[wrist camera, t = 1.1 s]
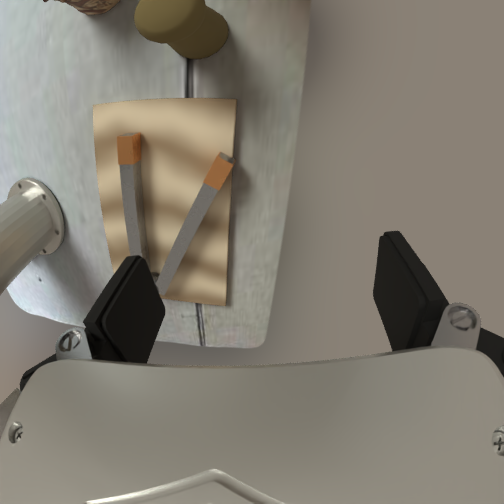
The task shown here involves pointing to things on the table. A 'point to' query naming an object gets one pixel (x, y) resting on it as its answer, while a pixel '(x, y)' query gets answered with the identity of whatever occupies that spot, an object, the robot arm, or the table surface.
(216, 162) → the tongs arm
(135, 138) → the arm
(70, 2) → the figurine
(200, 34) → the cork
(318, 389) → the robot arm
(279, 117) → the table surface
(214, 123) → the board
